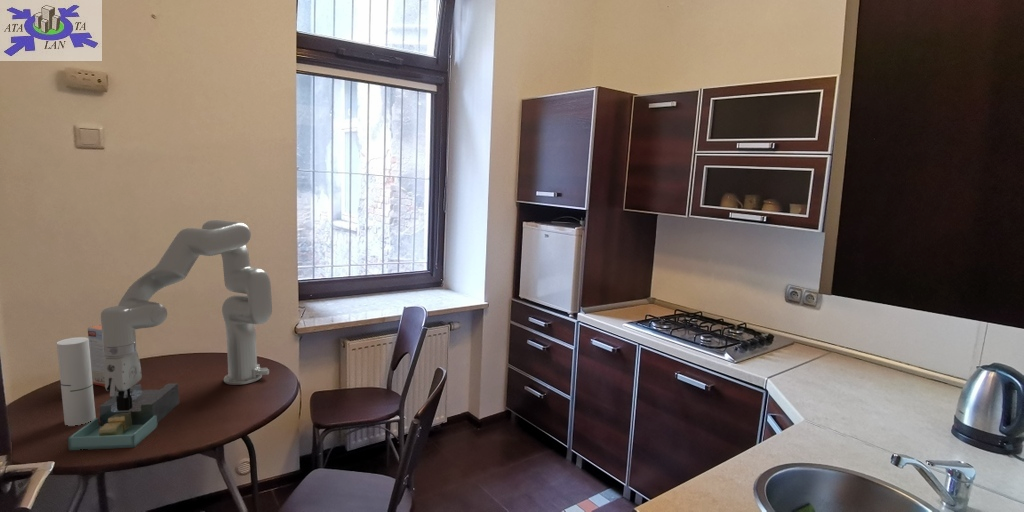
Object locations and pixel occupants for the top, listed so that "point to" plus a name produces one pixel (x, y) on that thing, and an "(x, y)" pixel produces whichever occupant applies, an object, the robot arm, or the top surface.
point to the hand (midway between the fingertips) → (124, 409)
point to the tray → (110, 436)
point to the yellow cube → (111, 429)
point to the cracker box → (96, 354)
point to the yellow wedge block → (122, 419)
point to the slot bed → (144, 404)
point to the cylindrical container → (76, 380)
